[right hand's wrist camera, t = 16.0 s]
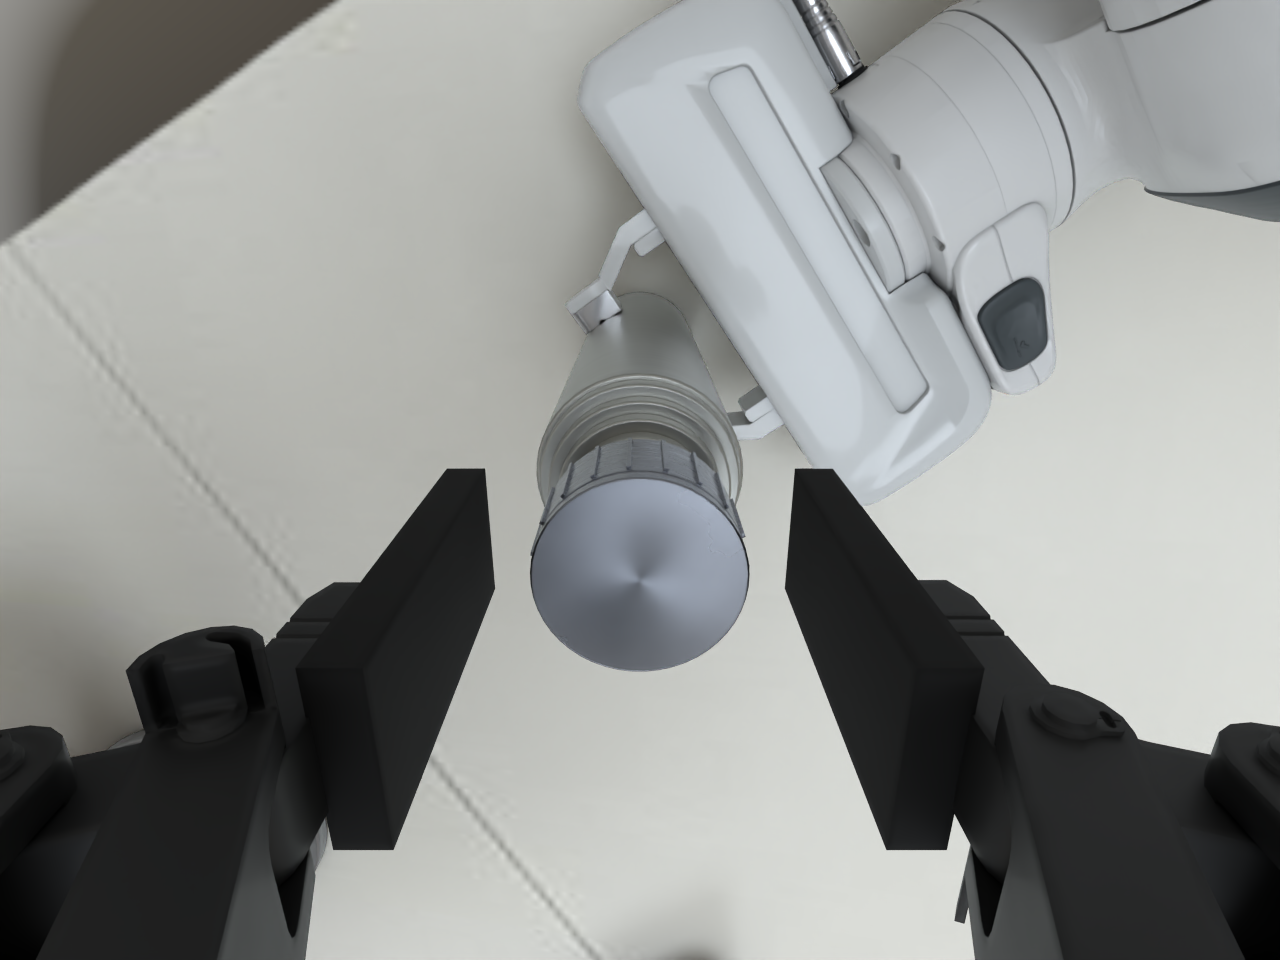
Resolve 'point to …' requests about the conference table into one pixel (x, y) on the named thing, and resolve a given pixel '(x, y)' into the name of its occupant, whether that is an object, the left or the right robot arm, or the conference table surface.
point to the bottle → (640, 395)
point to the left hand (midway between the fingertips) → (622, 383)
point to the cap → (639, 557)
